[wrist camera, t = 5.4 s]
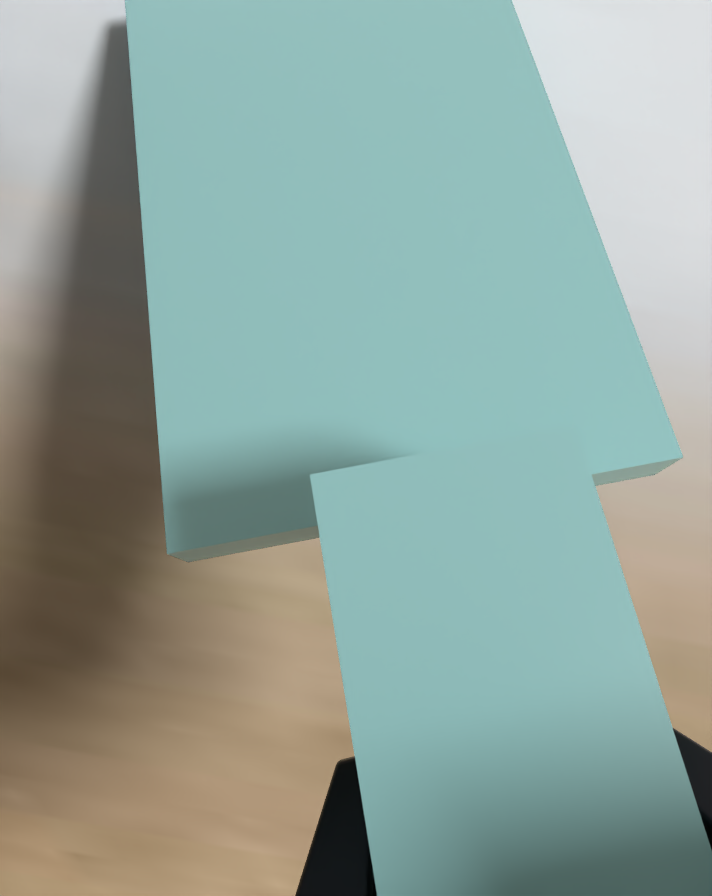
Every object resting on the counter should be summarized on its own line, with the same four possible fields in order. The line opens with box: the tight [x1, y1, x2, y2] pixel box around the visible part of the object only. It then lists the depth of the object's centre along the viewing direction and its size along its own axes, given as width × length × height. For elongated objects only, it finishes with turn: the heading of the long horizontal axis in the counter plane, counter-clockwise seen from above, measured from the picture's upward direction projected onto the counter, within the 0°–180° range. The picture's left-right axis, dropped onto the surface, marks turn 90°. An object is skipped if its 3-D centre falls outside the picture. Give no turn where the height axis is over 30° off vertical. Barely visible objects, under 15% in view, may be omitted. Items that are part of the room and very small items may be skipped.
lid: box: [125, 0, 712, 896], centre depth 11 cm, size 10×21×5 cm
